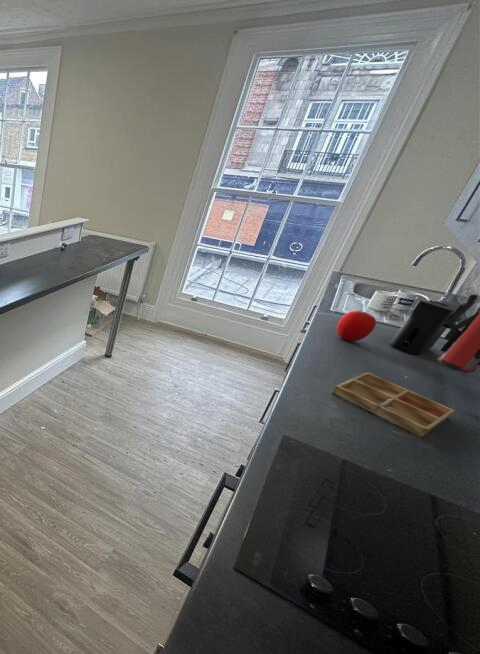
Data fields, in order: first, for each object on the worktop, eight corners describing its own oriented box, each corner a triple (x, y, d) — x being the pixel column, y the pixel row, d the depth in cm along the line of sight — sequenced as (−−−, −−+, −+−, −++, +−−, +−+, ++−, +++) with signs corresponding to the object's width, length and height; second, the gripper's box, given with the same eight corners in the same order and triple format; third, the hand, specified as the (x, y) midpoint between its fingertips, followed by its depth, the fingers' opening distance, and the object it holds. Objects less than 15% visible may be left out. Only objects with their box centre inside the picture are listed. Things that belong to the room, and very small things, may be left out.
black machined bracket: (385, 345, 166) (421, 296, 155) (404, 337, 175) (439, 290, 164) (422, 359, 157) (463, 309, 146) (440, 350, 167) (479, 301, 155)
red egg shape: (334, 330, 175) (350, 304, 168) (365, 341, 168) (384, 313, 161) (327, 337, 168) (345, 309, 162) (360, 348, 161) (379, 320, 155)
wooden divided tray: (448, 418, 123) (455, 410, 122) (420, 437, 113) (428, 429, 112) (361, 379, 140) (367, 371, 138) (331, 393, 130) (336, 385, 128)
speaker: (450, 370, 114) (499, 314, 105) (429, 357, 120) (472, 302, 111) (481, 375, 113) (532, 318, 104) (457, 361, 119) (504, 306, 110)
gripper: (467, 270, 109) (411, 342, 121) (585, 299, 94) (509, 378, 106) (475, 268, 112) (421, 338, 124) (591, 295, 97) (517, 373, 109)
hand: (461, 357), depth 115 cm, fingers closed on speaker, 7 cm apart
